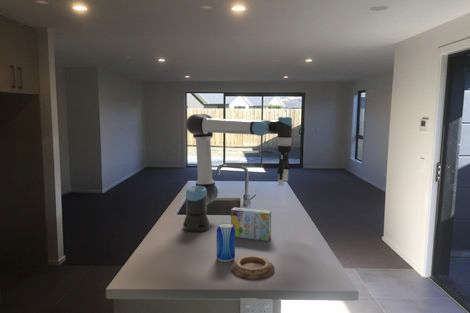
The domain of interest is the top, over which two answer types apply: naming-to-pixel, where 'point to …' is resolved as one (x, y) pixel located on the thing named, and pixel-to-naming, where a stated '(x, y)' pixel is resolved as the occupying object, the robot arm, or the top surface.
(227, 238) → the beer can
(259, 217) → the snack box
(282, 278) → the top surface
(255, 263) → the round brown bowl
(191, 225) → the robot arm
